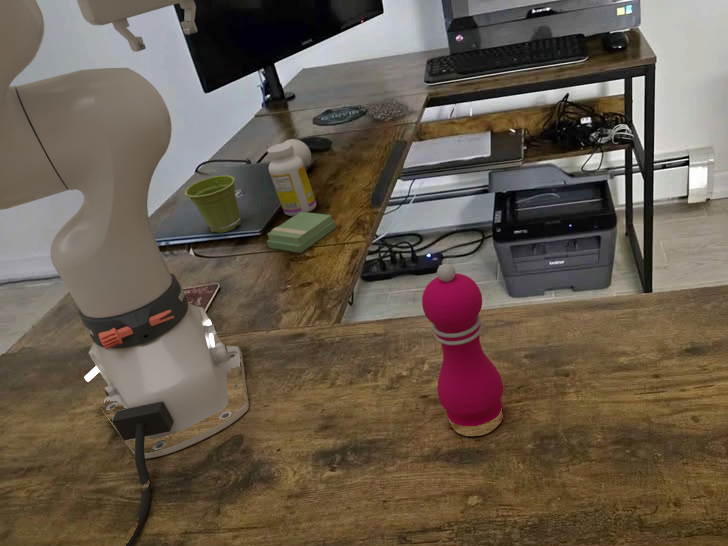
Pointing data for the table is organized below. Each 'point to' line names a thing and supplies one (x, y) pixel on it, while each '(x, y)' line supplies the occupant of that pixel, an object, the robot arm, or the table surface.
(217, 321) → the table surface
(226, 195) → the plant pot
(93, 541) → the table surface
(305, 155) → the white rounded piece
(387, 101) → the rug
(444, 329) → the pepper mill
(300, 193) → the supplement bottle
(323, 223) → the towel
